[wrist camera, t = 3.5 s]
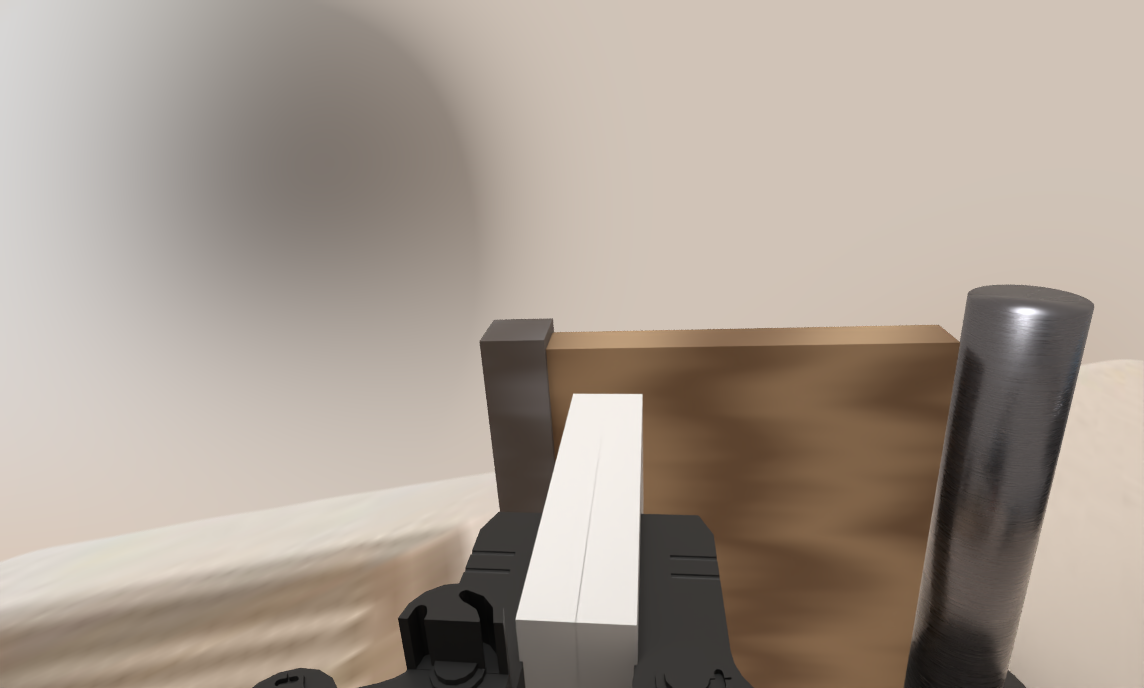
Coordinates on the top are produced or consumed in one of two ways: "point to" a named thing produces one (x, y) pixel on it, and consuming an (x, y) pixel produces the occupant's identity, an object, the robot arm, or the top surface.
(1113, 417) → the top surface
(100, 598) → the top surface
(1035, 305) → the gate post
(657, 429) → the gate
